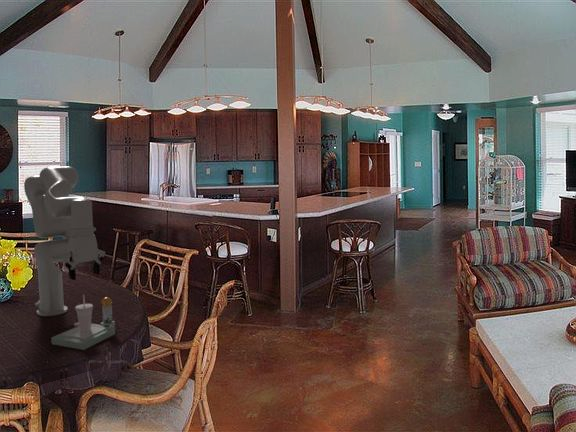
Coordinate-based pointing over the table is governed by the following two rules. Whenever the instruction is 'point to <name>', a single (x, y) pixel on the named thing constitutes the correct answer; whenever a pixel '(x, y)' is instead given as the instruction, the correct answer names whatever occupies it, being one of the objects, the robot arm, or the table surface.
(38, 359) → the table surface
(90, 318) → the smoothie
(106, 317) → the lever
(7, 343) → the table surface
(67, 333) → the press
